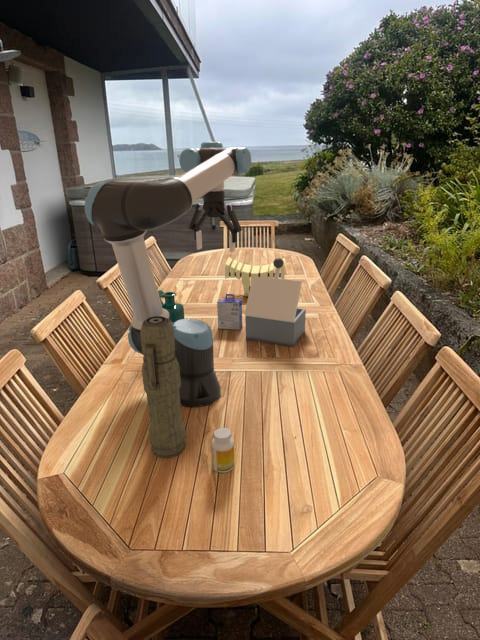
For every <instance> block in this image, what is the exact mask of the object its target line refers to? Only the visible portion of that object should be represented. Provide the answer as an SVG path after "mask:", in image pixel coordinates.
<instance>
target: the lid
mask: <svg viewBox="0 0 480 640" xmlns="http://www.w3.org/2000/svg"><path fill="white" fill-rule="evenodd" d="M282 259H283V258H281V257H276V258H275V259H274V260H273V262H272V263H273V264H274V268H275V267H276V270H275V269H274V273H275V275H274V277H273V278H269V277H268V278H265V277H255V276H253V277H252V281H251V280H250V291H249V296H247V297H248V298H247V301H246V307H245V309H244V310H245V311H244V316H251V317H258V318H265V319H272V320H279V321H286V322H293V323H294V321H295V316H296V311H297V308H298V305H299V301H300V300H299V299H300V294H301V289H302V283H303V281H301V280H291V279H285V278H284V279H281V278H280V277H279V274H280V273H281V267H282V266H283V264H284V262H283V260H282Z"/></svg>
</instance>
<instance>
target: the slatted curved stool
mask: <svg viewBox="0 0 480 640" xmlns="http://www.w3.org/2000/svg"><path fill="white" fill-rule="evenodd" d="M281 259H282V260H283V262H284V264H283V266H282V267H281V269H280V274H279V278H280V279H284V280H285V274H286V273H285V267H286V265H285V264H286V257H283V258H281ZM275 270H276V267H275V266H274V264H273V262H272V263H270V264H269V263H267V264H263V265H253V266H252V265H251V264H246V263H243V262H240V261H238V260H236V259H234V260H233V258H232V257H230V256H228V258H227V260H226V261H225V265H224V278H225V279H229V278H231V279H232V278H233V279H234V278H236V279H237V280H238V281H240V280H241V284H242V287H243V293H242V297H248V296H249V291H250V286H251V281H252V277H253V276H255V277H265V278H274V275H275Z"/></svg>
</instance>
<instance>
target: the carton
mask: <svg viewBox="0 0 480 640" xmlns="http://www.w3.org/2000/svg"><path fill="white" fill-rule="evenodd" d="M306 312H307V309H306V308H302V307H297V311H296V316H295V321H294V323H293V322H286V321H279V320H272V319H265V318H258V317H251V316H245V315H244V316H245V317H244V318H245V340H250V341H256V342H262V343H267V344H268V343H269V344H273V345H275V344H276V345H279V346H280V345H281V346H287V347H291V348H292V347H293V348H294V347H295V345H296V344H297V343H298V341H299V340H300V339H301V337H303V335H304V333H305V332H306V314H307V313H306Z"/></svg>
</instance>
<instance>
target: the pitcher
mask: <svg viewBox="0 0 480 640" xmlns="http://www.w3.org/2000/svg"><path fill="white" fill-rule="evenodd" d="M158 293H159V297H160V301H161V305H162V308H163V309H166V310H167V311H168V312H169V315H170V319H171V322H173V323H175V322H176V321H178V320H181V319H185V307H184V305H183V304H182V303H179V302H176V300H175V299H176V298H175V297H176V296H177V293H176V292H174V291H166V292H164V291H163V290H162V289H159V290H158ZM162 299H164V302H163V301H162Z"/></svg>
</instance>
